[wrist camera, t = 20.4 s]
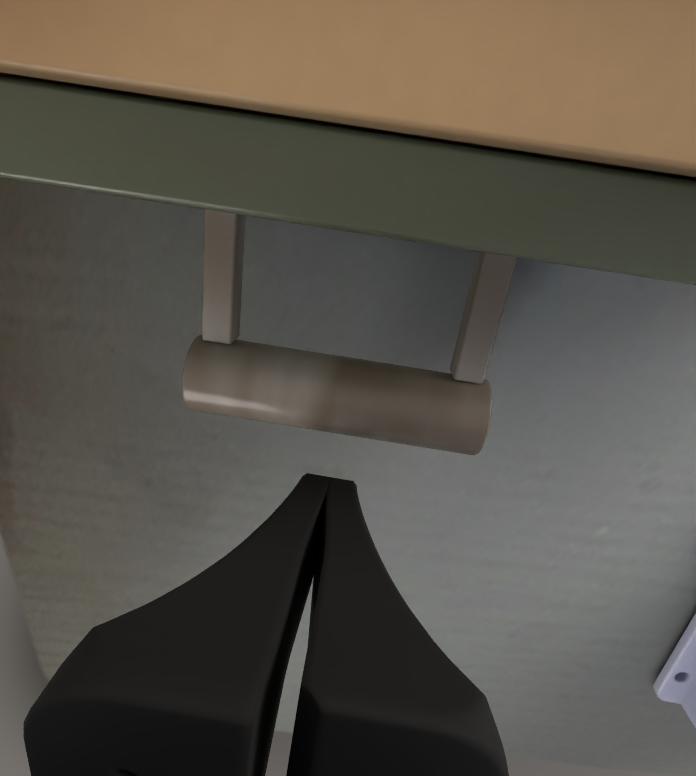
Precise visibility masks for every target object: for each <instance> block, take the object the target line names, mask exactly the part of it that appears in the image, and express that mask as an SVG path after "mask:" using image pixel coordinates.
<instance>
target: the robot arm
mask: <svg viewBox="0 0 696 776" xmlns="http://www.w3.org/2000/svg"><path fill="white" fill-rule="evenodd" d="M313 576H314V579H313ZM312 579H313V591H312V602H311V614H310V626H309V638H308V649H307V654H306V660H305V665H304V671H303V676H302V682H301V687H300V694H299V700H298V706H297V712H296V719H295V725H294V731H293V737H292V744H291V750H290V756H289V763H288V769H287V775H286V776H509V774H508V768H507V762H506V757H505V753H504V749H503V745H502V742H501V739H500V736H499V733H498V730H497V727H496V724H495V721H494V718H493V715H492V712H491V710H490V707H489V704H488V702H487V699H486V697H485V695H484V694H483V693H482V692H481V691H480V690H479V689H478V688H477V687H476V686H475V685H474V684H473V683H472V682H471V681H470V680H469V679H468V678H467V677H466V676H465V675H464V674H463V673H462V672H461V671H460V670H459V669H458V668H457V667H456V666H455V665H454V664H453V663H452V662H451V660H450V659H449V658H448V657H447V656H446V655H445V654H444V653H443V651H442V650H441V649H440V648H439V647H438V646H437V644H436V643H435V642H434V641H433V639H432V638H431V637H430V635H429V634H428V633H427V631H426V630H425V629H424V627H423V626H422V625H421V623H420V622H419V621H418V619H417V618H416V617H415V615H414V614H413V613H412V611H411V610H410V608H409V607H408V605H407V604H406V602H405V601H404V599H403V598H402V596H401V594H400V593H399V591H398V590H397V588H396V586H395V584H394V583H393V581H392V579H391V578H390V576H389V574H388V572H387V570H386V568H385V566H384V564H383V562H382V560H381V558H380V556H379V554H378V552H377V550H376V548H375V545H374V543H373V540H372V538H371V535H370V533H369V530H368V528H367V525H366V522H365V519H364V516H363V513H362V510H361V507H360V503H359V499H358V494H357V486H356V484H355V483H354V482H353V481H350V480H344V479H338V478H332V477H326V476H320V475H314V474H308V473H307V474H305V475H304V476H302V478H301V480H300V481H299V483H298V484H297V485H296V487H295V488H294V489H293V491H292V492H291V493H290V494H289V496H288V497H287V498H286V499H285V500H284V502H283V503H282V504H281V505H280V506H279V507H278V508H277V509H276V510H275V511H274V512H273V514H272V515H271V516H270V517H269V518H268V519H267V520H266V521H265V522H264V523H263V524H262V525H260V526H259V527H258V528H257V529H256V530H255V531H254V532H253V533H252V534H251V535H250V536H249V537H248V538H247V539H245V540H244V541H243V542H242V543H241V544H240V545H238V546H237V547H236V548H235V549H233V550H232V551H231V552H229V553H228V554H227V555H226V556H224V557H223V558H222V559H220V560H219V561H218V562H216V563H215V564H213V565H212V566H210V567H209V568H207V569H206V570H204V571H203V572H202V573H200V574H199V575H197V576H195V577H194V578H192V579H191V580H189V581H188V582H186V583H184V584H182V585H181V586H179V587H177V588H175V589H174V590H172V591H170V592H168V593H166V594H165V595H163V596H161V597H159V598H157V599H156V600H154V601H152V602H150V603H148V604H146V605H144V606H142V607H139V608H137V609H135V610H133V611H130V612H128V613H126V614H123V615H121V616H119V617H117V618H114V619H112V620H110V621H108V622H105V623H103V624H100V625H98V626H95V627H93V628H92V629H91V631H90V632H89V633H88V634H87V635H86V636H85V637H84V639H83V640H82V641H81V642H80V643H79V644H78V646H77V647H76V648H75V649H74V650H73V651H72V652H71V654H70V655H69V656H68V657H67V658H66V660H65V661H64V662H63V663H62V665H61V666H60V667H59V669H58V670H57V672H56V673H55V674H54V676H53V677H52V679H51V680H50V682H49V683H48V685H47V686H46V688H45V689H44V690H43V692H42V693H41V695H40V696H39V697H38V699H37V700H36V702H35V703H34V705H33V706H32V707H31V709H30V711H29V713H28V715H27V717H26V719H25V721H24V741H25V746H26V752H27V757H28V762H29V766H30V772H31V776H265V773H266V768H267V763H268V757H269V753H270V748H271V743H272V738H273V733H274V728H275V723H276V718H277V713H278V708H279V703H280V698H281V693H282V688H283V683H284V679H285V674H286V670H287V666H288V662H289V658H290V654H291V651H292V647H293V644H294V640H295V637H296V634H297V630H298V627H299V623H300V620H301V617H302V613H303V610H304V607H305V603H306V600H307V596H308V593H309V590H310V586H311V583H312ZM653 688H654V690H655V692H656V694H657V696H658V697H659V698H660V699H661V700H663V701H666V702H672V703H678V704H682V706H683V708H684V710H685V711H686V713H687V715H688V716H689V718H690V720H691V721H692V723H693V725H694V727H695V728H696V613H695V615H694V616H693V618H692V620H691V621H690V623H689V625H688V627H687V628H686V630H685V632H684V633H683V635H682V637H681V638H680V640H679V642H678V644H677V645H676V647H675V649H674V650H673V652H672V654H671V655H670V657H669V659H668V660H667V662H666V664H665V666H664V667H663V669H662V671H661V672H660V674H659V676H658V677H657V679H656V681H655V683H654V685H653Z"/></svg>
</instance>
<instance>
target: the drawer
mask: <svg viewBox="0 0 696 776" xmlns="http://www.w3.org/2000/svg"><path fill="white" fill-rule="evenodd" d="M0 178H5V179H12V180H18V181H25V182H31V183H38V184H44V185H51V186H57V187H64V188H70V189H77V190H83V191H90V192H96V193H103V194H109V195H116V196H122V197H129V198H135V199H142V200H148V201H154V202H161V203H167V204H174V205H180V206H187V207H193V208H200V209H205V229H204V280H203V331H202V335H199V336H198V337H197V338H195V340H194V341H193V343H192V344H191V346H190V349H189V351H188V354H187V357H186V360H185V364H184V369H183V376H182V395H183V400H184V403H185V405H186V407H187V408H188V409H190V410H194V411H200V412H206V413H213V414H219V415H225V416H231V417H238V418H244V419H250V420H256V421H263V422H269V423H275V424H281V425H288V426H294V427H300V428H306V429H312V430H319V431H325V432H331V433H337V434H344V435H350V436H356V437H362V438H369V439H375V440H381V441H387V442H394V443H400V444H406V445H412V446H419V447H425V448H431V449H437V450H444V451H450V452H456V453H462V454H469V455H476V454H478V453H479V452H480V450H481V449H482V447H483V445H484V443H485V440H486V437H487V434H488V431H489V426H490V421H491V414H492V391H491V386H490V383H489V382H488V381H487V380H486V379H484V377H485V374H486V370H487V366H488V363H489V359H490V355H491V352H492V348H493V345H494V341H495V337H496V334H497V330H498V326H499V323H500V319H501V315H502V312H503V308H504V304H505V301H506V297H507V293H508V290H509V286H510V283H511V279H512V275H513V272H514V268H515V264H516V261H517V257H518V258H525V259H531V260H538V261H544V262H551V263H557V264H563V265H570V266H576V267H583V268H589V269H596V270H602V271H609V272H615V273H622V274H628V275H635V276H641V277H648V278H654V279H661V280H667V281H674V282H680V283H687V284H693V285H696V180H693V179H686V178H680V177H673V176H666V175H660V174H653V173H646V172H640V171H633V170H627V169H620V168H613V167H607V166H600V165H593V164H587V163H580V162H574V161H567V160H560V159H554V158H547V157H540V156H534V155H527V154H521V153H514V152H507V151H501V150H494V149H487V148H481V147H474V146H468V145H461V144H454V143H448V142H441V141H434V140H428V139H421V138H414V137H408V136H401V135H395V134H388V133H381V132H375V131H368V130H361V129H355V128H348V127H342V126H335V125H328V124H322V123H315V122H308V121H302V120H295V119H289V118H282V117H275V116H269V115H262V114H255V113H249V112H242V111H236V110H229V109H222V108H216V107H209V106H202V105H196V104H189V103H183V102H176V101H169V100H163V99H156V98H149V97H143V96H136V95H130V94H123V93H116V92H110V91H103V90H96V89H90V88H83V87H76V86H70V85H63V84H57V83H50V82H43V81H37V80H30V79H23V78H17V77H10V76H4V75H0ZM245 216H252V217H258V218H265V219H271V220H278V221H284V222H291V223H297V224H304V225H310V226H317V227H323V228H330V229H336V230H343V231H349V232H356V233H362V234H369V235H375V236H382V237H388V238H395V239H401V240H408V241H414V242H421V243H427V244H434V245H440V246H447V247H453V248H460V249H466V250H473V251H478V255H477V259H476V263H475V267H474V272H473V276H472V280H471V284H470V288H469V292H468V296H467V301H466V305H465V309H464V313H463V317H462V321H461V325H460V330H459V334H458V338H457V342H456V346H455V350H454V354H453V359H452V363H451V367H450V371H451V373H452V374H451V373H444V372H438V371H432V370H425V369H419V368H413V367H406V366H400V365H394V364H387V363H381V362H375V361H368V360H362V359H356V358H349V357H343V356H336V355H330V354H324V353H317V352H311V351H305V350H298V349H292V348H286V347H279V346H273V345H267V344H260V343H254V342H248V341H241V340H236V339H237V338H238V337H239V329H240V310H241V291H242V271H243V252H244V232H245Z"/></svg>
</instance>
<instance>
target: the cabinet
mask: <svg viewBox="0 0 696 776" xmlns="http://www.w3.org/2000/svg"><path fill="white" fill-rule="evenodd" d="M0 75H4V76H10V77H17V78H23V79H30V80H37V81H43V82H50V83H57V84H63V85H70V86H76V87H83V88H90V89H96V90H103V91H110V92H116V93H123V94H130V95H136V96H143V97H149V98H156V99H163V100H169V101H176V102H183V103H189V104H196V105H202V106H209V107H216V108H222V109H229V110H236V111H242V112H249V113H255V114H262V115H269V116H275V117H282V118H289V119H295V120H302V121H308V122H315V123H322V124H328V125H335V126H342V127H348V128H355V129H361V130H368V131H375V132H381V133H388V134H395V135H401V136H408V137H414V138H421V139H428V140H434V141H441V142H448V143H454V144H461V145H468V146H474V147H481V148H487V149H494V150H501V151H507V152H514V153H521V154H527V155H534V156H540V157H547V158H554V159H560V160H567V161H574V162H580V163H587V164H593V165H600V166H607V167H613V168H620V169H627V170H633V171H640V172H646V173H653V174H660V175H666V176H673V177H680V178H686V179H693V180H696V0H0Z"/></svg>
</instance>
